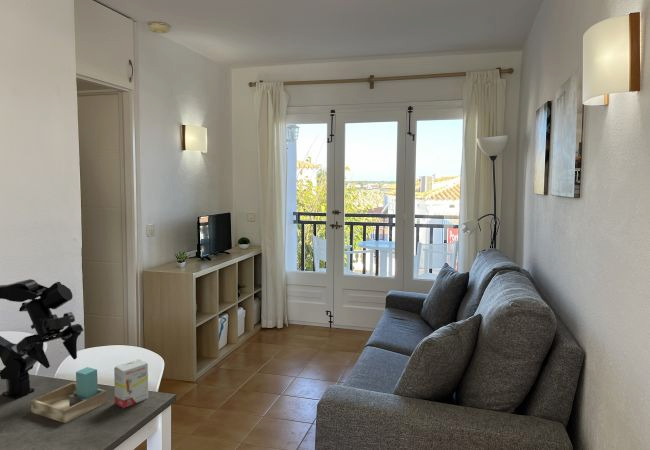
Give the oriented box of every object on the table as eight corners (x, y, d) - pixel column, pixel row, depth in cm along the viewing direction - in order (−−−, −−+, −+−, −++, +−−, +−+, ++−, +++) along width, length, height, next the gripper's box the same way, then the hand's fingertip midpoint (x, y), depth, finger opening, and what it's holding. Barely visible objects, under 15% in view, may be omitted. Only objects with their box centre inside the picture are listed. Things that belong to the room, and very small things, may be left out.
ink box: (123, 409, 145) (122, 371, 144) (114, 404, 148) (113, 366, 147) (149, 399, 152) (148, 362, 150) (140, 395, 155) (139, 358, 153)
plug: (77, 406, 145) (75, 371, 144) (88, 400, 149) (87, 367, 148) (86, 409, 144) (85, 374, 143) (98, 403, 147) (97, 369, 146)
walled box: (31, 413, 142) (30, 400, 141) (74, 394, 154) (73, 381, 154) (65, 424, 136) (64, 410, 135) (106, 403, 149) (106, 390, 148)
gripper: (27, 310, 140) (49, 359, 137) (83, 299, 157) (104, 343, 154) (6, 328, 143) (27, 377, 141) (62, 315, 161) (82, 359, 158)
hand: (62, 363), depth 148 cm, fingers open, 9 cm apart
